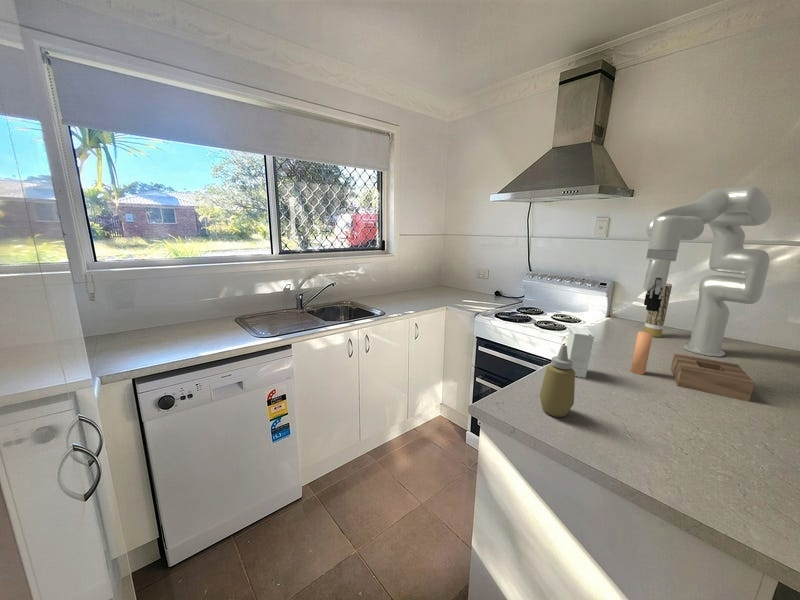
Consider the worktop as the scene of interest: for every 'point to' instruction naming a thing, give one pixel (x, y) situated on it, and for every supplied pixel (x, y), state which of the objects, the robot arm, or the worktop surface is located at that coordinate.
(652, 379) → the worktop surface
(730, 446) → the worktop surface
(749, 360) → the worktop surface
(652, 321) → the brown textured cylinder
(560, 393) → the squeeze bottle
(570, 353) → the skincare box
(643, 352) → the peg
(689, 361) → the socket block
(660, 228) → the robot arm
